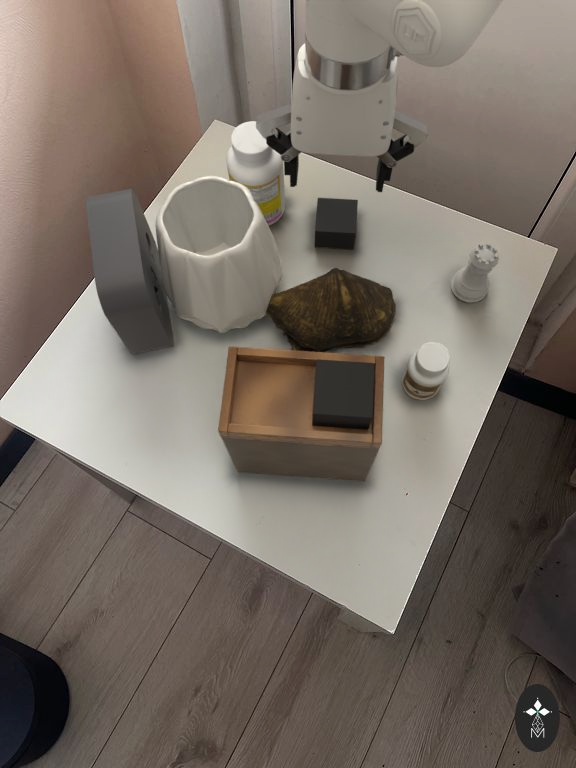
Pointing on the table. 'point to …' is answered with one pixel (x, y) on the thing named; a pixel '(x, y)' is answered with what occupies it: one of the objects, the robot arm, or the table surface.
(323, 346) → the seashell
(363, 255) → the table surface
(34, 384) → the table surface
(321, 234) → the black cube
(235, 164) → the supplement bottle
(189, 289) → the vase
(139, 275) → the streaming box
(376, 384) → the box
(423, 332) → the table surface
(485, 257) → the rook chess piece
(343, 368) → the black square block
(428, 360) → the pill bottle
